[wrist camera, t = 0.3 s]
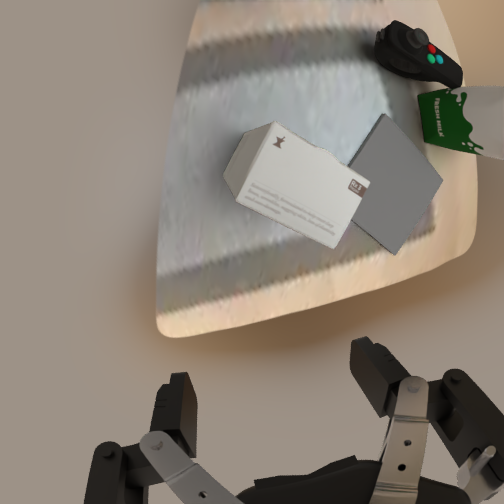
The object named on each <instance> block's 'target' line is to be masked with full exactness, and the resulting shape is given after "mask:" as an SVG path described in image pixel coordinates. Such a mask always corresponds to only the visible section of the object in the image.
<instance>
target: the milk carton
mask: <svg viewBox="0 0 504 504" xmlns="http://www.w3.org/2000/svg"><path fill="white" fill-rule="evenodd" d="M418 100H419V105H420V111H421V118H422V125H423V132H424V141H425V142H426V143H430V144H434V145H437V146H441V147H445V148H448V149H452V150H457V151H462V152H467V153H472V154H478V155H482V156H487V157H492V158H496V159H501V160H504V87H502V86H471V87H459V88H454V89H450V88H446V89H441V90H437V91H433V92H429V93H425V94H421V95H418Z"/></svg>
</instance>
